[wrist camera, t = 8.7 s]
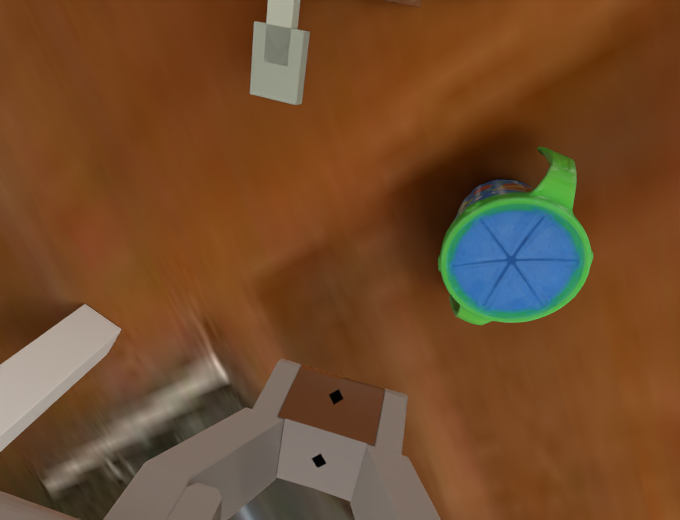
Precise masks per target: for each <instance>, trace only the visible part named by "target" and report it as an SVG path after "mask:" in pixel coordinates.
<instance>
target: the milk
mask: <svg viewBox="0 0 680 520" xmlns="http://www.w3.org/2000/svg"><path fill="white" fill-rule="evenodd" d="M120 331H121V328H119V327H118V326H116V325H115V324H113V323H112V322H111V321H109V320H108V319H106V318H105V317H103V316H102V315H101V314H99V313H98V312H96V311H95V310H93V309H92V308H91V307H89V306H88V305H86V304H84V305H83V306H81V307H80V308H78V309H77V310H76V311H74V312H73V313H71V314H70V315H69V316H67V317H66V318H65V319H63V320H62V321H60V322H59V323H58V324H56V325H55V326H53V327H52V328H51V329H49V330H48V331H46V332H45V333H44V334H42V335H41V336H40V337H38V338H37V339H35V340H34V341H33V342H31V343H30V344H28V345H27V346H26V347H24V348H23V349H21V350H20V351H19V352H17V353H16V354H15V355H13V356H12V357H10V358H9V359H8V360H6V361H5V362H3V363H2V364H1V365H0V451H2V450H3V449H4V448H5V447H6V446H7V445H8V444H9V443H10V442H11V441H13V440H14V439H15V438H16V437H17V436H18V435H19V434H20V433H21V432H22V431H23V430H25V429H26V428H27V427H28V426H29V425H30V424H31V423H32V422H33V421H34V420H36V419H37V418H38V417H39V416H40V415H41V414H42V413H43V412H44V411H45V410H46V409H48V408H49V407H50V406H51V405H52V404H53V403H54V402H55V401H56V400H57V399H58V398H60V397H61V396H62V395H63V394H64V393H65V392H66V391H67V390H68V389H69V388H71V387H72V386H73V385H74V384H75V383H76V382H77V381H78V380H79V379H80V378H81V377H83V376H84V375H85V374H86V373H87V372H88V371H89V370H90V369H91V368H92V367H94V366H95V365H96V364H97V363H98V362H99V361H100V360H101V359H102V358H103V357H104V356H106V355H107V354H108V352H109V351H110V349H111V347H112V345H113V344H114V342H115V340H116V338H117V337H118V335H119V333H120Z"/></svg>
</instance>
